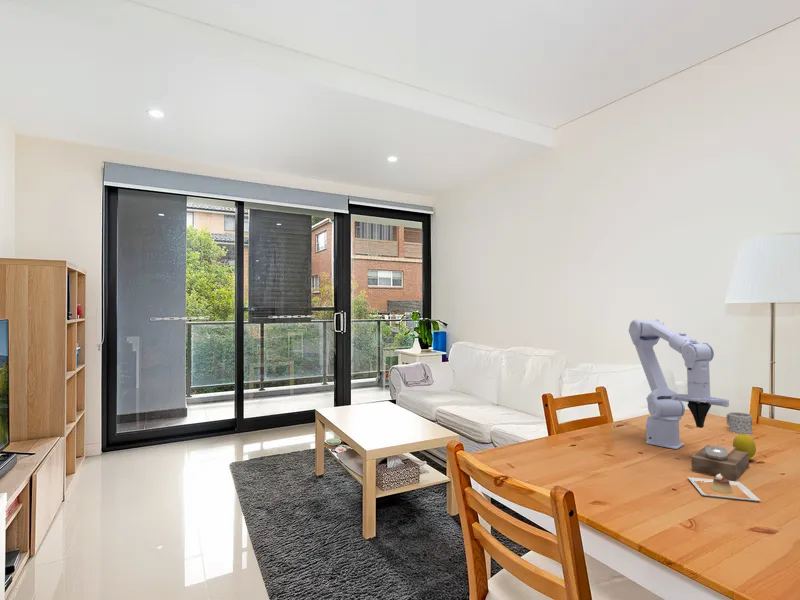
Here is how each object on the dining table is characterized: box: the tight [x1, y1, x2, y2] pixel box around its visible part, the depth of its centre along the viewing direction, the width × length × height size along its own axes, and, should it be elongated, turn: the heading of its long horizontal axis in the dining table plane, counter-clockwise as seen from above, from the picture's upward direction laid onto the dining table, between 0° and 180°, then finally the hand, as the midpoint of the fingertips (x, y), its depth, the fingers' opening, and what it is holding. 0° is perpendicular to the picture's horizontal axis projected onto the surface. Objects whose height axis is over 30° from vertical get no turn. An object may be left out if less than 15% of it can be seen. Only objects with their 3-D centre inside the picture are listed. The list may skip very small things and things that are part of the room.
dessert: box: [687, 472, 762, 502], centre depth 110 cm, size 12×12×5 cm
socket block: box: [691, 444, 750, 482], centre depth 125 cm, size 10×16×4 cm, turn 131°
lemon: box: [732, 434, 757, 459], centre depth 132 cm, size 6×6×8 cm
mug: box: [726, 411, 753, 435], centre depth 163 cm, size 10×7×7 cm
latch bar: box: [716, 444, 735, 456], centre depth 127 cm, size 8×4×1 cm, turn 131°
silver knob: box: [704, 445, 728, 461], centre depth 122 cm, size 5×5×6 cm
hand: (700, 427), depth 133 cm, fingers closed
